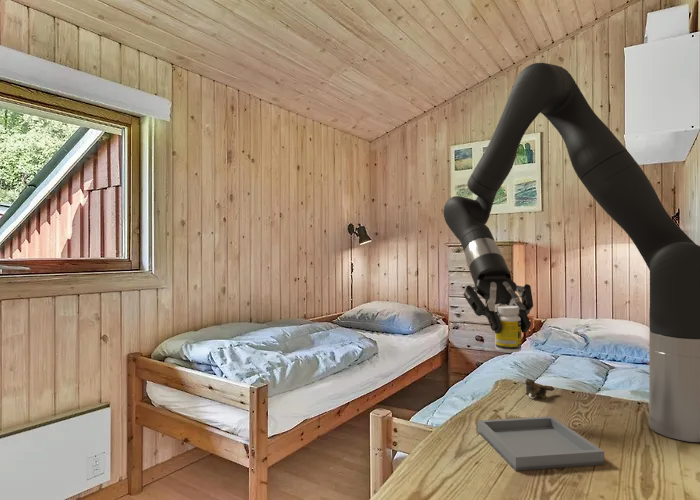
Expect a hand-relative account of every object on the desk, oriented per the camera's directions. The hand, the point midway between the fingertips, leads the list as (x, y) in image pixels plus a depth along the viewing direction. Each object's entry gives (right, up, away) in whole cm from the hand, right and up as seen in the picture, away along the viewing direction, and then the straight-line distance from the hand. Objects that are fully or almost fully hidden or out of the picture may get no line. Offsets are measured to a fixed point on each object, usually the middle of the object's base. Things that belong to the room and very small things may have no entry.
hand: (512, 330), depth 86 cm
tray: (0, -17, -12) cm, 21 cm away
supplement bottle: (0, -4, +2) cm, 5 cm away
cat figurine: (+10, -17, +13) cm, 23 cm away
